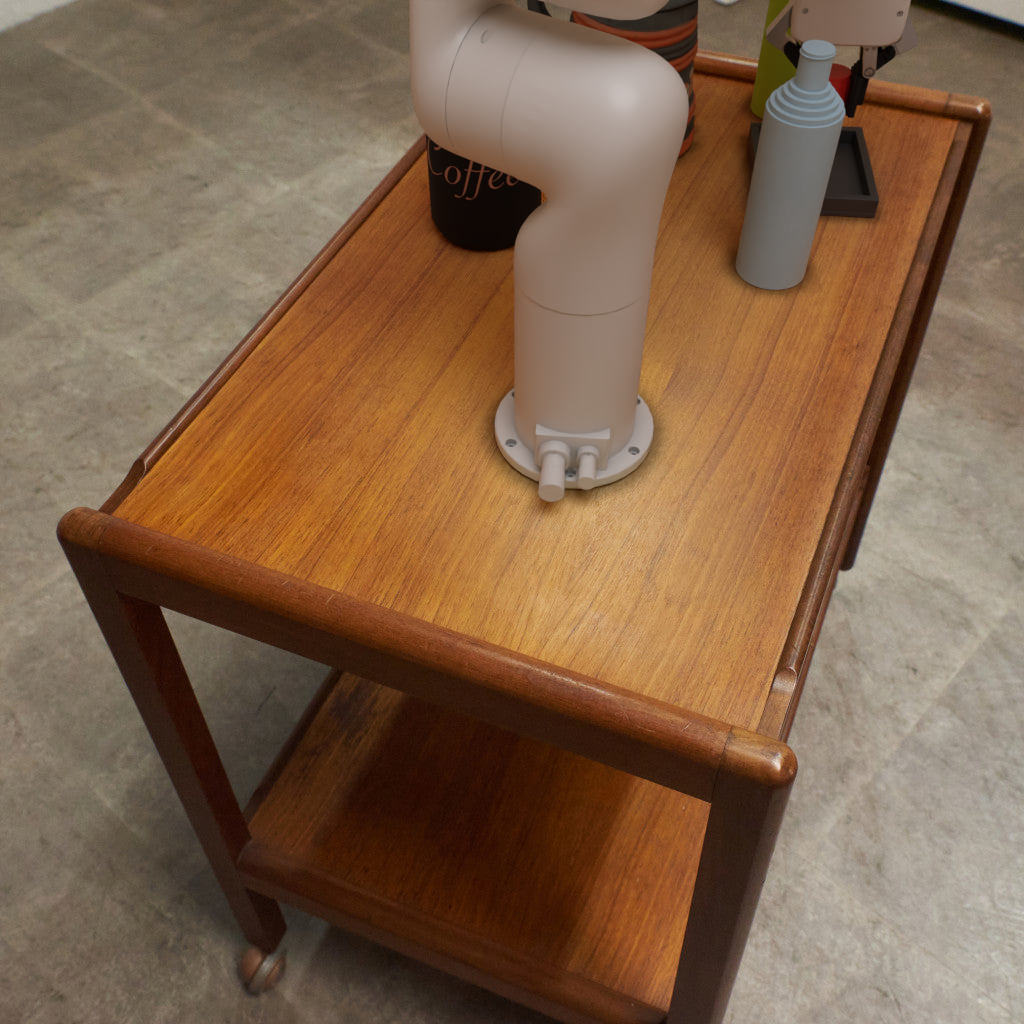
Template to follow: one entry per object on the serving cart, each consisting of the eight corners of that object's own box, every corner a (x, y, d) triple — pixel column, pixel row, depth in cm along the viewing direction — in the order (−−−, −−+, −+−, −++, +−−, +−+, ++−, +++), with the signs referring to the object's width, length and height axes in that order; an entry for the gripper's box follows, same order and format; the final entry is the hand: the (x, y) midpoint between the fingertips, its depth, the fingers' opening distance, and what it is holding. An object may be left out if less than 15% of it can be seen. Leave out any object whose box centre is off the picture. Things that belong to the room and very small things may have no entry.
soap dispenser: (812, 97, 119) (855, -96, 104) (796, 127, 115) (838, -70, 100) (761, 87, 121) (796, -105, 106) (744, 115, 117) (777, -80, 102)
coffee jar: (412, 239, 102) (396, 56, 88) (462, 182, 108) (454, 3, 95) (512, 267, 99) (512, 82, 86) (558, 207, 105) (564, 27, 92)
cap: (846, 98, 105) (853, 64, 103) (844, 114, 102) (851, 80, 100) (805, 94, 106) (811, 60, 103) (802, 111, 103) (808, 76, 101)
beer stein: (498, 148, 113) (495, -50, 98) (546, 84, 122) (551, -107, 106) (671, 185, 108) (696, -18, 93) (708, 115, 117) (737, -80, 102)
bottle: (807, 292, 97) (865, 68, 81) (736, 288, 97) (780, 65, 81) (801, 250, 101) (855, 29, 85) (733, 246, 101) (774, 26, 85)
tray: (874, 218, 104) (879, 200, 103) (754, 212, 105) (758, 194, 103) (857, 144, 113) (862, 127, 112) (747, 139, 114) (750, 122, 112)
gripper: (964, -108, 91) (906, 93, 105) (768, -114, 93) (736, 87, 107) (981, -73, 87) (917, 133, 101) (774, -79, 88) (739, 126, 102)
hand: (824, 107), depth 103 cm, fingers closed on cap, 3 cm apart
